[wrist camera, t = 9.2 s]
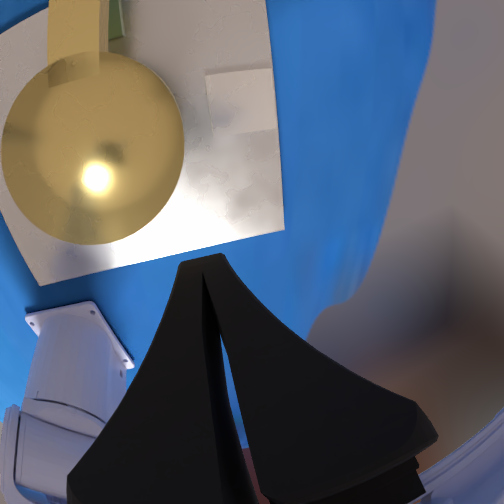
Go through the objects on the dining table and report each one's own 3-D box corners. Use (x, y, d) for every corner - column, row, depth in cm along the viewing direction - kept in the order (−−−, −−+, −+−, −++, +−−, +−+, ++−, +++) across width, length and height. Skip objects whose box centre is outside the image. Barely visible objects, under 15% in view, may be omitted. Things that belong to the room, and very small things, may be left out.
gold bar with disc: (187, 192, 16) (192, 232, 13) (57, 212, 15) (30, 255, 11) (184, -50, 8) (189, -87, 4) (36, -16, 6) (-1, -33, 3)
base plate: (279, 222, 21) (301, 255, 18) (43, 278, 18) (28, 316, 15) (255, -34, 10) (277, -59, 7) (-30, 61, 8) (-67, 67, 4)
